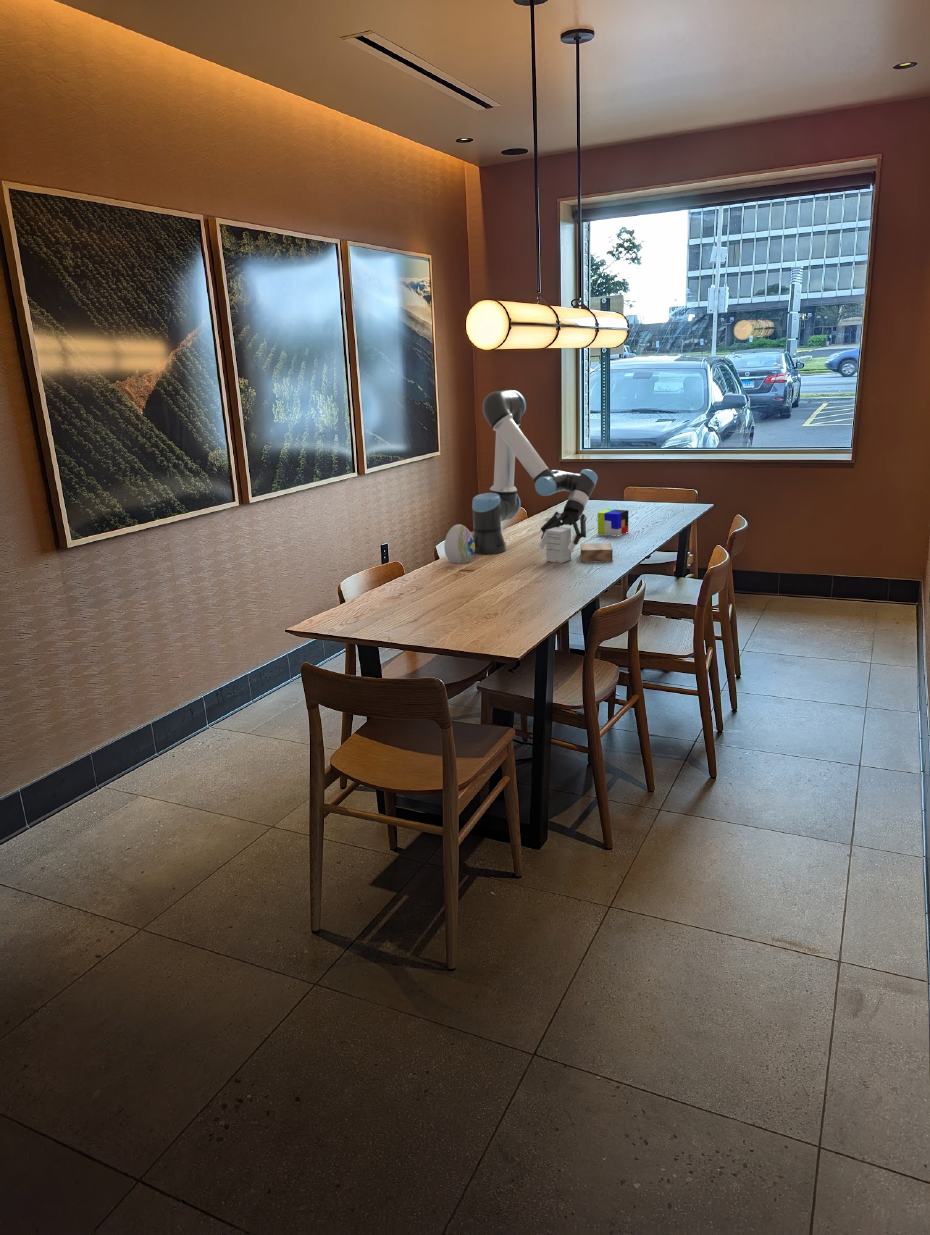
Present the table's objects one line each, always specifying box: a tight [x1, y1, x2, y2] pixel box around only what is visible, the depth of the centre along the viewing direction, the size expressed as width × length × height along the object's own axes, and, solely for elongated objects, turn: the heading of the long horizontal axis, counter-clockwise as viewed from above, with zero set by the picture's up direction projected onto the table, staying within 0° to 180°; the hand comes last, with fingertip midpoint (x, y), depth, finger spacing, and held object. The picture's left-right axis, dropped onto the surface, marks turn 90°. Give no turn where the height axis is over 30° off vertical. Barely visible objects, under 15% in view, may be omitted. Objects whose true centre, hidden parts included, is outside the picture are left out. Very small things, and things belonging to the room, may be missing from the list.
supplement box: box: [545, 526, 572, 564], centre depth 329 cm, size 7×7×13 cm
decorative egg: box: [443, 523, 475, 564], centre depth 335 cm, size 12×12×15 cm
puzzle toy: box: [597, 508, 629, 537], centre depth 375 cm, size 10×10×10 cm
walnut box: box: [580, 542, 614, 563], centre depth 331 cm, size 12×12×5 cm
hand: (555, 548), depth 327 cm, fingers open, 13 cm apart
